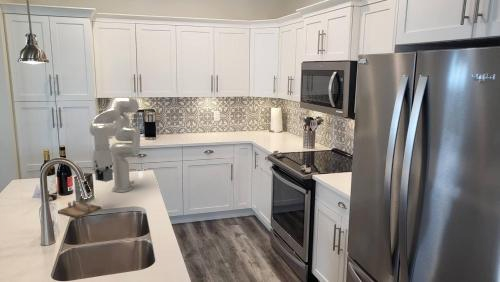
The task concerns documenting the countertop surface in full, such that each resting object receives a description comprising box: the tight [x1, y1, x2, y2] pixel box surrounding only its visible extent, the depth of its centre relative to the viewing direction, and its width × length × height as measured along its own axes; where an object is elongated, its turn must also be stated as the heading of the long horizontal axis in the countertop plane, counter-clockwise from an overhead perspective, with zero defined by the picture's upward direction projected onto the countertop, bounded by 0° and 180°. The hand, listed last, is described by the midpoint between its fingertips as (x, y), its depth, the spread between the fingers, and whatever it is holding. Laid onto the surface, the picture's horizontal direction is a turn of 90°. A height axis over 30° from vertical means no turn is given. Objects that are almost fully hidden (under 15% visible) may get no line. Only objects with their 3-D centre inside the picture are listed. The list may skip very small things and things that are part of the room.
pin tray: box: [57, 200, 102, 219], centre depth 205 cm, size 16×16×4 cm
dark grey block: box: [94, 167, 114, 183], centre depth 207 cm, size 5×8×6 cm, turn 66°
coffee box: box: [73, 172, 95, 204], centre depth 220 cm, size 9×6×16 cm
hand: (104, 178), depth 207 cm, fingers closed on dark grey block, 5 cm apart
